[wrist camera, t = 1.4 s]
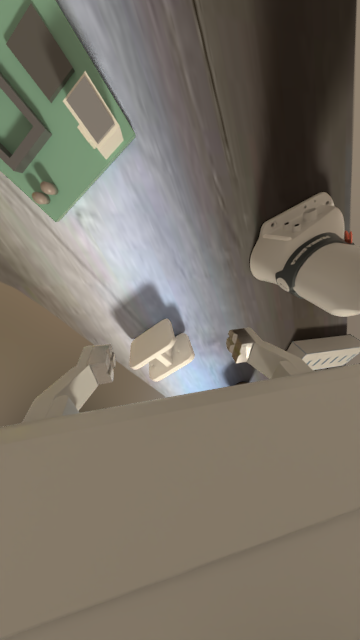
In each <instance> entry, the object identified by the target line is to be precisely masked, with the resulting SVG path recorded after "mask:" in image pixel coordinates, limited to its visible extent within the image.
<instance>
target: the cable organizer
mask: <svg viewBox="0 0 360 640" xmlns="http://www.w3.org/2000/svg"><path fill="white" fill-rule="evenodd" d="M194 356H195V354H194V351H193V348H192V346H191V343H190V340H189V337H188V336H187V335H186V334H185V333H181V334H179V335H177V336H176V337H175V336H174V332H173V328H172V324H171V321H170V320H169V319H163V320H162V321H160V322H159V323H157V324H156V325H154V326H153V327H151V328H150V329H148V330H147V331H145V332H144V333H142V334H141V335H140V336H138V337H137V338H135V339H134V340H133V342H132V343H131V350H130V363H129V366H130V367H131V368H133V369H135V370H136V369H139V368H140V367H142V366H144V365H145V364H147V363H148V362H149V374H150V379H151V380H153V381H155V382H157V381H160V380H162V379H163V378H165V377H167V376H168V375H170V374H172V373H173V372H175V371H177V370H178V369H180V368H182V367H183V366H185V365H187V364H188V363H190V362H191V361H192V360H193V359H194Z"/></svg>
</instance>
